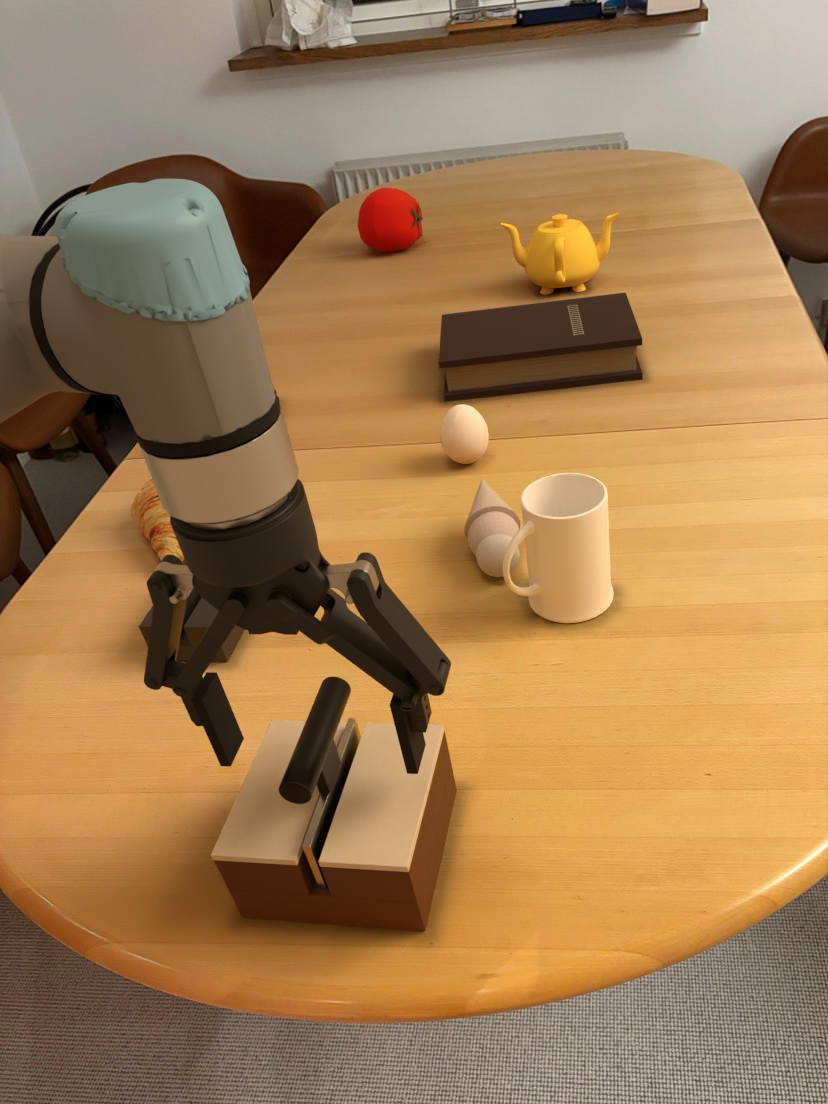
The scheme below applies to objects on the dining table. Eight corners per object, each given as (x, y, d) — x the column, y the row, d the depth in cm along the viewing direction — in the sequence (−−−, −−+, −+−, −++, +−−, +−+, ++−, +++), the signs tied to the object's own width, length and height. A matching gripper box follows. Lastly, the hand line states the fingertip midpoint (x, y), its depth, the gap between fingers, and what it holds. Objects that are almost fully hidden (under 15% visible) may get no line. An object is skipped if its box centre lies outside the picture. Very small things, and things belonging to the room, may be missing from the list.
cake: (241, 917, 67) (210, 855, 62) (295, 782, 77) (271, 719, 72) (425, 931, 65) (407, 867, 60) (457, 789, 74) (443, 724, 69)
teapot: (502, 307, 155) (495, 236, 147) (509, 276, 166) (503, 209, 159) (621, 297, 152) (620, 225, 144) (620, 267, 163) (619, 198, 155)
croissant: (209, 593, 106) (223, 537, 101) (117, 576, 102) (127, 517, 98) (216, 498, 122) (228, 446, 117) (137, 481, 118) (146, 427, 114)
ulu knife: (308, 888, 64) (269, 793, 58) (351, 761, 73) (322, 666, 67) (337, 890, 64) (302, 795, 57) (378, 762, 73) (351, 667, 66)
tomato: (364, 267, 190) (423, 268, 186) (340, 225, 178) (402, 224, 174) (378, 216, 193) (436, 216, 189) (355, 170, 181) (417, 169, 177)
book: (624, 326, 142) (624, 288, 139) (642, 379, 127) (642, 338, 124) (447, 347, 144) (442, 310, 141) (444, 401, 130) (438, 362, 126)
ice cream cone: (489, 506, 106) (508, 598, 97) (444, 487, 103) (460, 580, 94) (519, 469, 103) (542, 560, 93) (474, 448, 100) (493, 540, 90)
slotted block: (154, 660, 92) (138, 626, 89) (202, 583, 102) (189, 549, 99) (227, 662, 90) (213, 627, 88) (270, 582, 100) (258, 549, 97)
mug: (530, 649, 86) (519, 544, 79) (485, 605, 92) (470, 504, 85) (631, 601, 90) (629, 496, 82) (581, 561, 96) (575, 461, 88)
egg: (501, 456, 115) (495, 401, 111) (469, 478, 112) (461, 421, 107) (466, 445, 119) (459, 390, 114) (434, 465, 116) (425, 410, 111)
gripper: (467, 453, 51) (505, 721, 64) (66, 465, 55) (180, 712, 69) (442, 529, 45) (489, 805, 59) (-2, 535, 50) (137, 789, 63)
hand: (322, 755), depth 64 cm, fingers open, 13 cm apart
